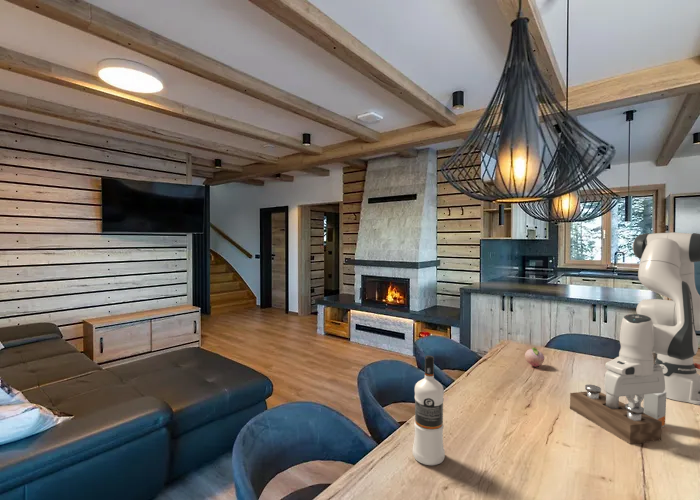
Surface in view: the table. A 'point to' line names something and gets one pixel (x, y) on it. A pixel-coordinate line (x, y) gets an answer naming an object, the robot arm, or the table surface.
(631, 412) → the plug
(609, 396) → the plug mid
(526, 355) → the decorative fruit
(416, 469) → the table surface
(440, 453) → the vodka
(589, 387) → the plug
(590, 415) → the block
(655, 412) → the skincare box
